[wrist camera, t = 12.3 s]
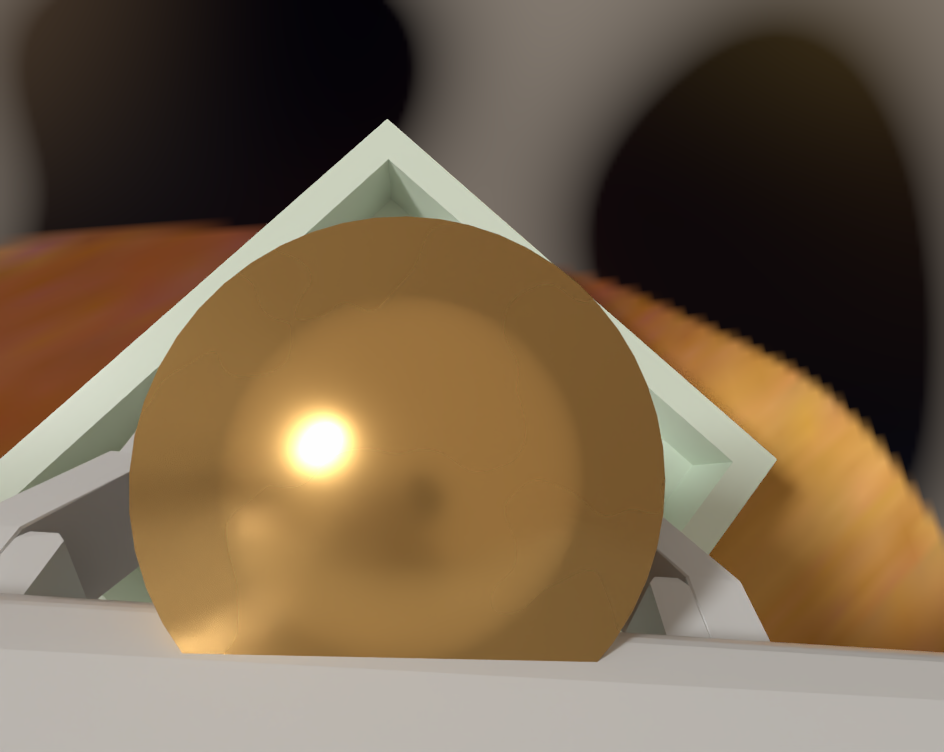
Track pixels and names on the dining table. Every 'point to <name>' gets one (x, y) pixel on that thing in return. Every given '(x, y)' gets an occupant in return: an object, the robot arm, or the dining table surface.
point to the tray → (373, 196)
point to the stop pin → (398, 456)
